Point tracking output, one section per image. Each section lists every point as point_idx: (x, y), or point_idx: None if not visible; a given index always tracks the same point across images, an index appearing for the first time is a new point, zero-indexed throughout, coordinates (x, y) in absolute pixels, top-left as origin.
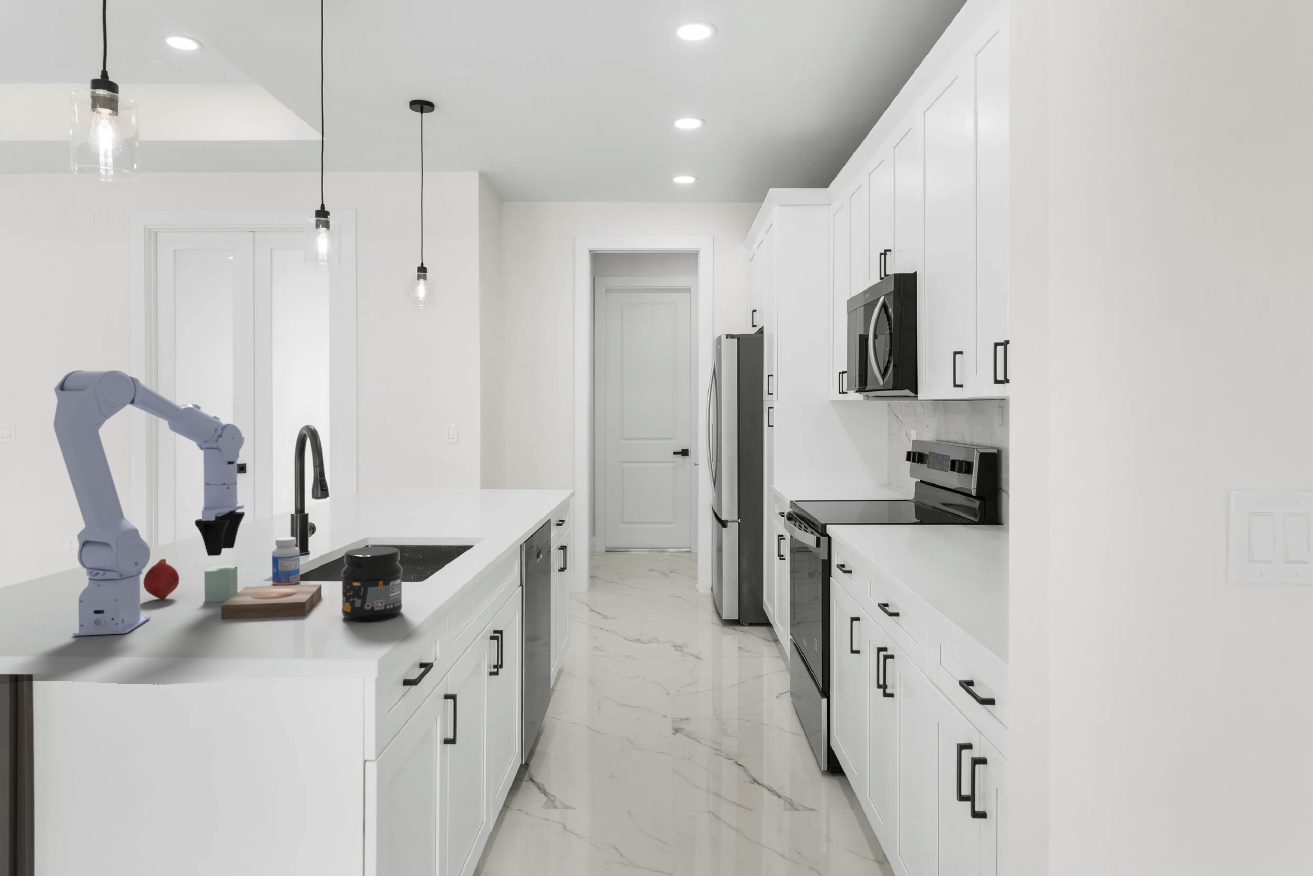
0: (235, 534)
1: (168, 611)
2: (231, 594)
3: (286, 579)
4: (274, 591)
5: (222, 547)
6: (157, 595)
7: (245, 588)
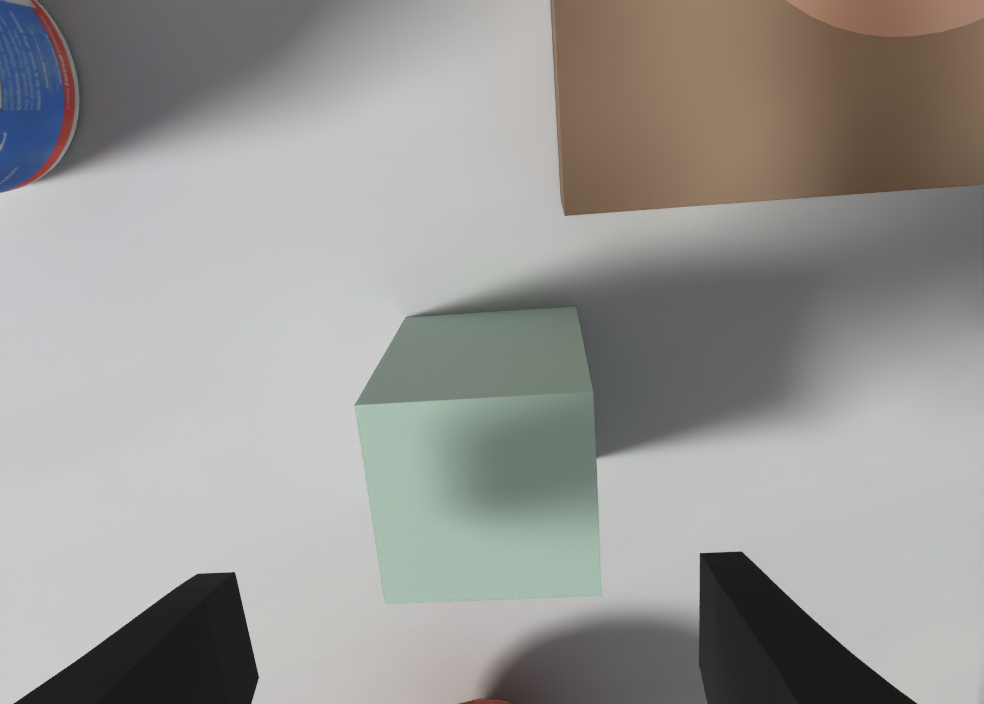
0: (120, 678)
1: (819, 570)
2: (544, 318)
3: (40, 34)
4: None
5: (252, 678)
6: None
7: (629, 193)
